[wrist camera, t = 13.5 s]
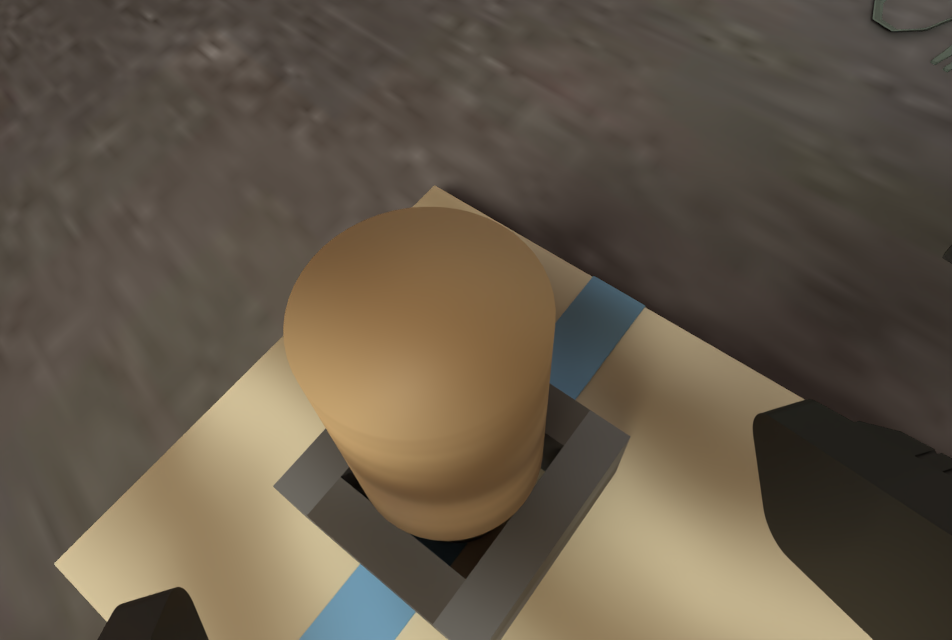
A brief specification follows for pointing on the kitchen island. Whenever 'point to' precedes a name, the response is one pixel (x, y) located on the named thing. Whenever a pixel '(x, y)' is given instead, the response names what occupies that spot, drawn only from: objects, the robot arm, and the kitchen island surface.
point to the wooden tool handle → (429, 365)
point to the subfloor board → (507, 546)
